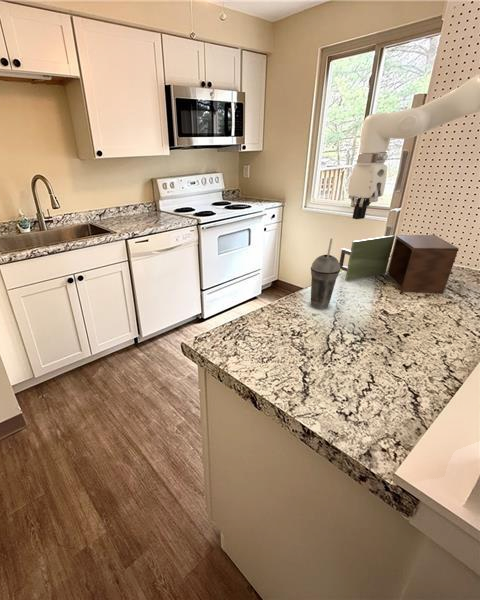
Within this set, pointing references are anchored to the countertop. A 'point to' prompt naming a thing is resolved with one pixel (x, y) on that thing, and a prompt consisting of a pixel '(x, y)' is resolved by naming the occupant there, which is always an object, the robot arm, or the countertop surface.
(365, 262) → the cupboard door
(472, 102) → the robot arm
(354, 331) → the countertop surface
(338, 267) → the beverage cup
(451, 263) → the cupboard
